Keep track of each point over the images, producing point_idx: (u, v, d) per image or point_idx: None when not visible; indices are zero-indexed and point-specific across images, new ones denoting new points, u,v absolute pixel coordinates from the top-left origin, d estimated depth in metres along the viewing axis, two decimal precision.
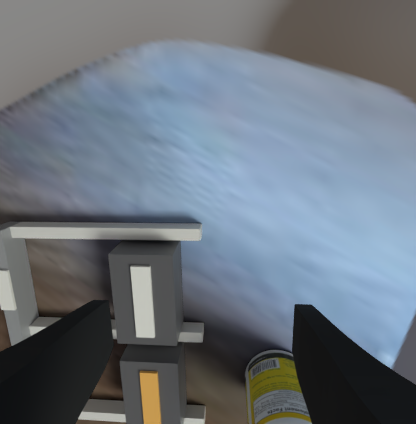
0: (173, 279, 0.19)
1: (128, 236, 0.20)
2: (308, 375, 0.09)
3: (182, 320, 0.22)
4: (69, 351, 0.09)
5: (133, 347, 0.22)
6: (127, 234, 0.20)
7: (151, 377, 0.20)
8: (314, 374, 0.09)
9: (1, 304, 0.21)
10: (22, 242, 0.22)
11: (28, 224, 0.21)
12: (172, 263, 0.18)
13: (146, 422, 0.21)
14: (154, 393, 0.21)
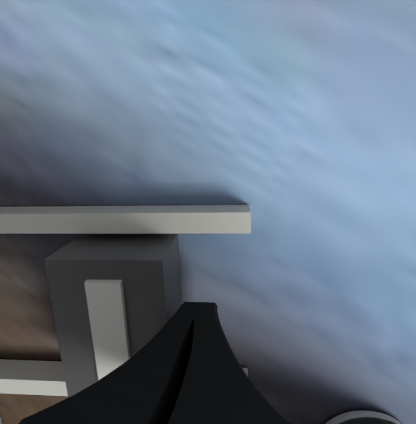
0: (165, 304, 0.10)
1: (122, 228, 0.11)
2: None
3: None
4: (186, 355, 0.09)
5: None
6: (121, 223, 0.11)
7: None
8: None
9: None
10: None
11: None
12: (162, 275, 0.10)
13: None
14: None
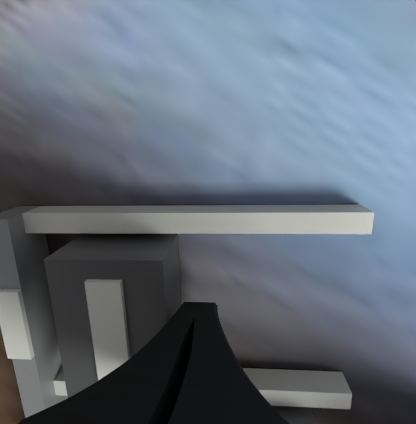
0: (165, 304, 0.10)
1: (235, 229, 0.11)
2: None
3: None
4: (186, 355, 0.09)
5: None
6: (235, 223, 0.11)
7: None
8: None
9: (7, 349, 0.12)
10: (43, 241, 0.13)
11: (53, 209, 0.12)
12: (162, 275, 0.10)
13: None
14: None
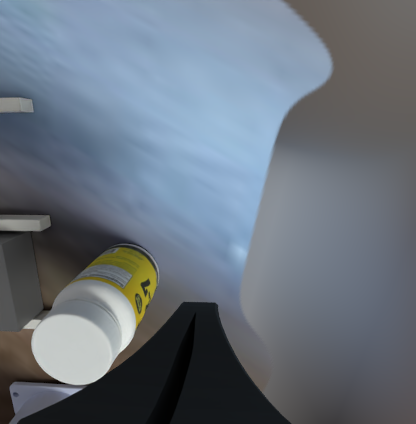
0: None
1: None
2: None
3: None
4: (185, 355, 0.09)
5: None
6: None
7: None
8: None
9: None
10: None
11: None
12: None
13: None
14: None
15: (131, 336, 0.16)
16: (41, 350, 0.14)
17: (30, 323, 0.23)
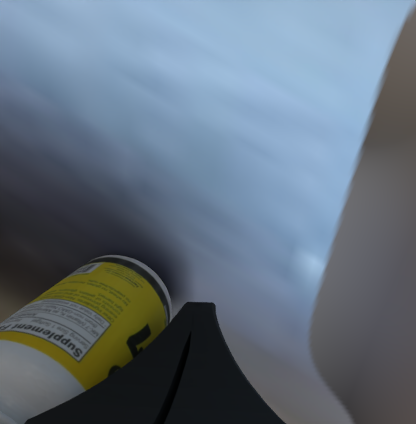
0: None
1: None
2: None
3: None
4: None
5: None
6: None
7: None
8: None
9: None
10: None
11: None
12: None
13: None
14: None
15: None
16: None
17: None
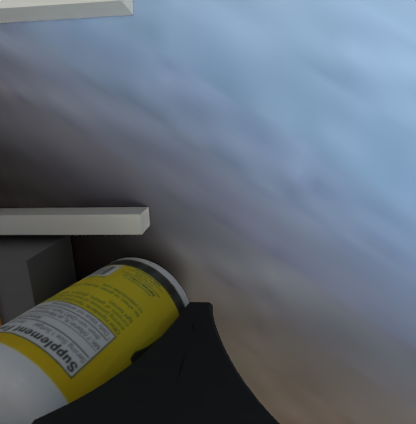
0: None
1: None
2: None
3: None
4: None
5: None
6: None
7: None
8: None
9: None
10: None
11: None
12: None
13: None
14: None
15: None
16: None
17: None
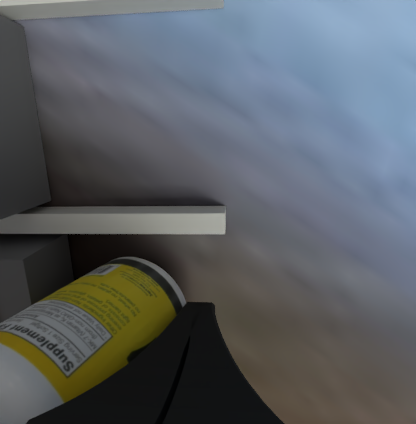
0: None
1: None
2: None
3: (44, 197, 0.12)
4: None
5: None
6: None
7: None
8: None
9: None
10: None
11: None
12: None
13: None
14: None
15: None
16: None
17: None
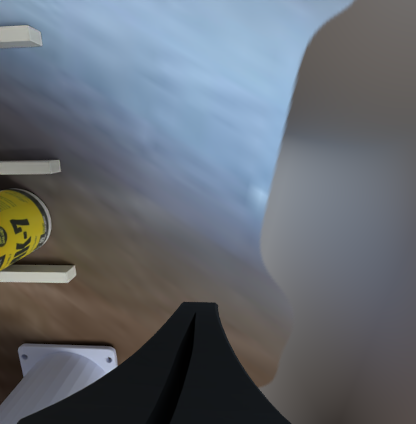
0: None
1: None
2: None
3: None
4: (185, 355, 0.09)
5: None
6: None
7: None
8: None
9: None
10: None
11: None
12: None
13: None
14: None
15: None
16: None
17: (40, 276, 0.22)
